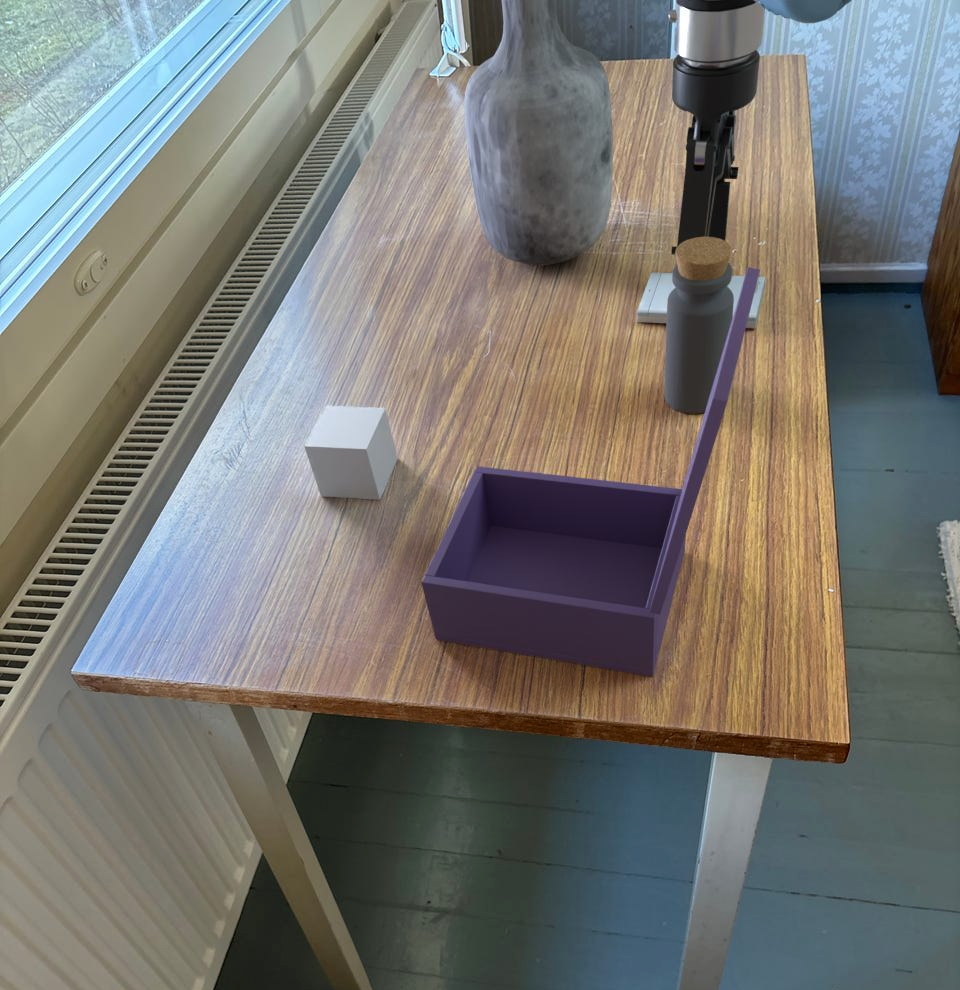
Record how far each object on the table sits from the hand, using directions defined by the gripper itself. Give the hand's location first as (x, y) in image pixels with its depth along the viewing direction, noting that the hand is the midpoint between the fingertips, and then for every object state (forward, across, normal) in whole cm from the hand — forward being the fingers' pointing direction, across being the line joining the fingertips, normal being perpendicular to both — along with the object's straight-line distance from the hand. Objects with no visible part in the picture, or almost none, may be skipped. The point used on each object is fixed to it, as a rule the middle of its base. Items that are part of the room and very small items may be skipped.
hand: (702, 275), depth 99 cm
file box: (+3, +44, -4) cm, 44 cm away
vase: (+4, -10, -20) cm, 22 cm away
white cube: (+4, +33, -27) cm, 43 cm away
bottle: (+3, +16, +2) cm, 17 cm away
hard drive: (+4, 0, 0) cm, 4 cm away
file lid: (-13, +44, +6) cm, 46 cm away
